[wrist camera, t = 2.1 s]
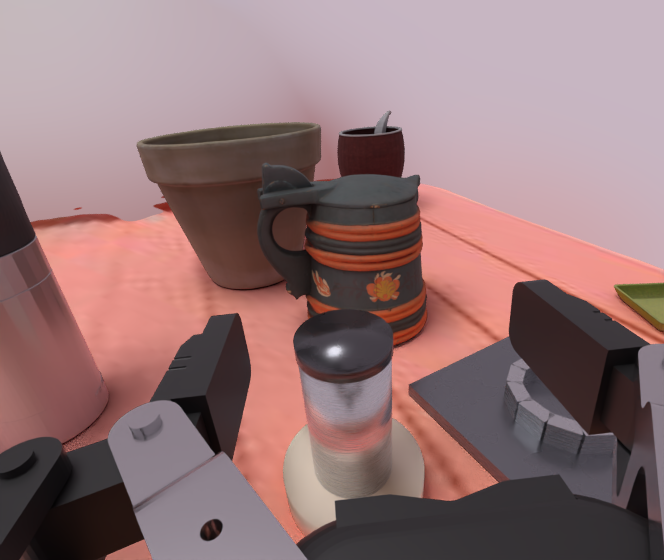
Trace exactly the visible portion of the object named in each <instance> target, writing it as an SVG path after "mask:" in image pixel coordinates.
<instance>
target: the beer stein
mask: <svg viewBox="0 0 664 560" xmlns="http://www.w3.org/2000/svg"><path fill="white" fill-rule="evenodd" d="M419 185H420V176H419V175H413V176H410V177H408V178H400V177H393V176H387V175H376V174H360V175H349V176H345V177H341V178H338V179H334V180H331V181H314V182H310V181H309V180H308V179H307V177H306V176H305V175H304V174H302V173H301V172H299V171H298V170H296V169H294V168H291V167H288V166H285V165H269V164H268V163H264V164H263V165H262V187H263V188H259V189H257V194H258V199H259V201H260V207H261V211H260V214H259V219H258V225H257V235H258V240H259V244H260V247H261V250H262V252H263V254H264V256H265V257H266V259H267V260H268V262H269V263H270V264H271V266H272V267H273V268H274V269H275V270H276V272H277V273H278V274H279V275H281V276H282V277H283V278H284V279H285V280H286V281H287V284H286V290H287V292H288V293H289V294H291V295H293V296H294V297H295V298H296V299H298V298H299V297H300V296H302V295H306V298H307V307H308V319H310V318H312V317H314V316H316V315H318V314H321V313H324V312H327V311H332V310H339V309H356V310H362V311H367V312H370V313H373V314H375V315H377V316H379V317H381V318H382V319H384V320H385V321H386V322H387V323H388V324H389V325H390V327H391V329H392V332H393V345H397V344H400V343H403V342H405V341H407V340H409V339H411V338H412V337H414V336H415V335H416V334H417V333H419V332H420V331H421V329H422V328H423V326H424V324H425V322H426V319H427V310H426V298H427V295H426V288H425V282H424V280H423V278H422V267H421V253H420V252H421V250H422V246H423V242H422V234H421V233H422V231H421V222H420V210H419V207H418V206H417V201H418V186H419ZM292 207H298V208H304V209H305V210H306V211H307V214H306V225H307V228H306V230H305V236H306V238H307V239H306V243H305V250H301V251H291V250H287V249H284V248H282V247H281V246H279V245H278V244H277V242H276V241H275V239H274V236H273V231H272V227H273V222H274V220H275V218H276V216H277V215H278V214H279V213H280V212H281V211H283V210H285V209H287V208H292Z"/></svg>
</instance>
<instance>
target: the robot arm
mask: <svg viewBox="0 0 664 560" xmlns="http://www.w3.org/2000/svg"><path fill="white" fill-rule="evenodd" d="M509 337H510V341H511V344H512V347H513V348H514V350H515V351H516V353H517V354H518V355H519V356H520V357H521V358H522V359H523V361H524V362H525V363H526V364H527V365H528V366H529V367H530V369H531V370H532V371H533V372H534V373H535V374H536V375H537V377H538V378H539V379H540V380H541V381H542V382H543V383H544V385H545V386H546V387H547V388H548V389H549V390H550V391H551V393H552V394H553V395H554V396H555V397H556V398H557V399H558V401H559V402H560V403H561V404H562V405H563V406H564V407H565V409H566V410H567V411H568V412H569V413H570V414H571V416H572V417H573V418H574V419H575V420H576V421H577V422H578V424H579V425H580V426H581V427H582V428H583V429H584V430H585V432H586V433H587V434H588V435H595V434H604V433H613V434H614V435H615V436H616V438H615V442H614V446H613V464H612V503H609V502H606V501H602V500H599V499H596V498H592V497H587V496H583V495H577V494H573V493H572V492H571V490H570V489H569V488H568V486H567V485H566V483H565V482H564V480H563V479H562V478H561V476H560V475H559V474H557V475H548V476H540V477H531V478H523V479H514V480H506V481H502V482H500V483H497V484H495V485H492V486H490V487H488V488H485V489H483V490H480V491H478V492H475V493H473V494H470V495H468V496H465V497H463V498H460V499H458V500H455V501H443V500H434V499H426V498H418V497H410V496H401V495H393V494H387V495H378V496H370V497H361V498H353V499H344V500H336V501H335V514H336V520H335V521H332V522H330V523H327V524H325V525H323V526H321V527H320V528H318V529H316V530H314V531H313V532H311V533H310V534H308V535H307V536H306V537H304V538H303V539H302V540H300V541H299V542H298V543H297V544H295V543H294V541H293V540H292V539H291V537H290V536H289V535H288V534H287V532H286V531H285V530H284V528H283V527H282V526H281V524H280V523H279V522H278V521H277V519H276V518H275V517H274V515H273V514H272V513H271V511H270V510H269V509H268V508H267V506H266V505H265V504H264V502H263V501H262V500H261V498H260V497H259V496H258V495H257V493H256V492H255V491H254V489H253V488H252V487H251V486H250V484H249V483H248V482H247V480H246V479H245V478H244V476H243V475H242V474H241V473H240V471H239V470H238V469H237V467H236V466H235V465H234V463H233V462H232V459H233V455H234V450H235V446H236V441H237V437H238V432H239V428H240V424H241V419H242V415H243V410H244V406H245V401H246V397H247V392H248V388H249V383H250V378H251V365H250V358H249V353H248V349H247V344H246V340H245V335H244V331H243V326H242V322H241V318H240V316H239V314H238V313H235V314H226V315H217V316H211V317H210V319H209V321H208V323H207V325H206V327H205V329H204V331H203V333H202V334H198V335H193V336H192V337H191V338H190V339H189V340H187V341H186V342H185V343H184V344H183V345H182V346H181V347H180V349H179V350H178V352H177V354H176V356H175V357H174V360H173V361H172V363H171V365H170V366H169V370H168V371H167V372H166V374H165V375H164V377H163V379H162V381H161V383H160V384H159V386H158V388H157V390H156V392H155V393H154V395H153V397H152V399H151V400H150V402H149V403H146V404H143V405H141V406H139V407H136V408H135V409H133V410H131V411H129V412H128V413H126V414H125V415H124V416H122V417H121V418H120V419H119V420H118V421H117V422H116V423H115V424H114V426H113V427H112V428H111V430H110V432H109V435H108V439H105V440H102V441H100V442H97V443H94V444H91V445H88V446H85V447H82V448H79V449H76V450H73V451H70V452H67V453H66V452H65V450H64V448H63V446H62V443H64V442H66V441H68V440H70V439H71V438H73V437H74V436H76V435H78V434H79V433H81V432H82V431H83V430H85V429H86V428H87V427H88V426H90V425H91V424H92V423H93V422H94V421H95V420H96V419H97V418H98V417H99V415H100V414H101V413H102V411H103V410H104V409H105V406H106V404H107V402H108V398H109V393H108V389H107V387H106V385H105V383H104V380H103V377H102V375H101V373H100V371H99V370H98V368H97V365H96V363H95V361H94V359H93V357H92V354H91V352H90V350H89V348H88V346H87V344H86V342H85V339H84V337H83V335H82V333H81V331H80V329H79V327H78V324H77V322H76V320H75V318H74V316H73V314H72V312H71V309H70V307H69V305H68V303H67V301H66V299H65V297H64V294H63V292H62V290H61V288H60V286H59V284H58V282H57V279H56V277H55V275H54V273H53V271H52V269H51V267H50V264H49V262H48V260H47V258H46V256H45V254H44V252H43V249H42V247H41V245H40V243H39V241H38V239H37V236H36V234H35V232H34V229H33V227H32V225H31V223H30V221H29V219H28V216H27V214H26V212H25V209H24V207H23V204H22V201H21V199H20V196H19V194H18V192H17V190H16V187H15V185H14V183H13V180H12V179H11V176H10V174H9V172H8V169H7V167H6V165H5V162H4V160H3V157H2V155H1V152H0V560H105V558H106V555H108V554H110V553H113V552H115V551H117V550H120V549H122V548H124V547H127V546H129V545H131V544H134V543H136V542H139V541H141V540H143V539H145V541H146V544H147V546H148V549H149V551H150V554H151V556H152V559H153V560H664V344H649V343H648V342H646V341H645V340H643V339H642V338H640V337H639V336H637V335H636V334H634V333H633V332H631V331H630V330H628V329H627V328H625V327H624V326H622V325H621V324H619V323H618V322H616V321H612V318H610V317H609V316H607V315H606V314H604V313H600V310H598V309H597V308H595V307H594V306H592V305H591V304H589V303H588V302H587V301H584V300H582V299H579V298H576V297H574V296H571V295H569V294H566V293H565V292H563V291H562V290H561V289H559V288H558V287H556V286H555V285H553V284H552V283H550V282H549V281H547V280H535V281H526V282H518V283H516V284H515V286H514V289H513V295H512V305H511V315H510V324H509Z"/></svg>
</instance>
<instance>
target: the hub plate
mask: <svg viewBox="0 0 664 560" xmlns="http://www.w3.org/2000/svg"><path fill="white" fill-rule="evenodd" d="M409 395H410V396H411V397H412V398H413V399H414V400H415V401H416V402H417V403H418V404H419V405H420V406H421V407H422V408H423V409H424V410H425V411H426V412H427V413H428V414H429V415H430V416H431V417H432V418H433V419H434V420H435V421H436V422H438V423H439V424H440V425H441V426H442V427H443V428H444V429H445V430H446V431H447V432H448V433H449V434H450V435H451V436H452V437H453V438H454V439H455V440H456V441H457V442H458V443H459V444H460V445H461V446H462V447H463V448H464V449H465V450H466V451H467V452H468V453H469V454H470V455H471V456H472V457H474V458H475V459H476V460H477V461H478V462H479V463H480V464H481V465H482V466H483V467H484V468H485V469H486V470H487V471H488V472H489V473H490V474H491V475H492V476H493V477H494V478H495V479H496V480H497V481H498V482H499V483H500V482H502V481H506V480H514V479H523V478H531V477H540V476H548V475H557V474H559V475H560V476H561V478H562V479H563V480H564V482H565V483H566V485H567V486H568V488H569V489H570V490H571V492H572V493H573V494H577V495H583V496H587V497H592V498H596V499H599V500H602V501H606V502H609V503H612V464H613V446H614V442H615V438H616V436H615V435H614V434H613V433H604V434H595V435H588V434H587V433H586V432H585V430H584V429H583V428H582V427H581V426H580V425H579V424H578V422H577V421H576V420H575V419H574V418H573V417H572V416H571V414H570V413H569V412H568V411H567V410H566V409H565V407H564V406H563V405H562V404H561V403H560V402H559V401H558V399H557V398H556V397H555V396H554V395H553V394H552V393H551V391H550V390H549V389H548V388H547V387H546V386H545V385H544V383H543V382H542V381H541V380H540V379H539V378H538V377H537V375H536V374H535V373H534V372H533V371H532V370H531V369H530V367H529V366H528V365H527V364H526V363H525V362H524V361H523V359H522V358H521V357H520V356H519V355H518V354H517V353H516V351H515V350H514V348H513V347H512V344H511V341H510V337H507V338H505V339H503V340H501V341H499V342H497V343H494V344H492V345H490V346H488V347H486V348H484V349H482V350H480V351H478V352H476V353H474V354H472V355H470V356H468V357H465V358H463V359H461V360H459V361H457V362H455V363H453V364H451V365H449V366H447V367H445V368H443V369H441V370H438V371H436V372H434V373H432V374H430V375H428V376H426V377H424V378H422V379H420V380H418V381H416V382H414V383H412V384H409Z"/></svg>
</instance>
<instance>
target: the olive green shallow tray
mask: <svg viewBox="0 0 664 560" xmlns="http://www.w3.org/2000/svg"><path fill="white" fill-rule="evenodd" d="M614 288H615V290H616V292H617V293H618V295H619V296H620V298H621V299H622V300H623V301H624V302H625V303H626V304H628V305H629V306H630V307H631V308H633V309H634V310H635V311H636V312H637V313H639V314H640V315H641V316H642V317H643V318H645V319H646V320H647V321H648V322H650V323H651V324H652V325H653V326H654V327H656V328H657V329H658V330H660V331H664V283H647V284H619V285H614Z"/></svg>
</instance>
